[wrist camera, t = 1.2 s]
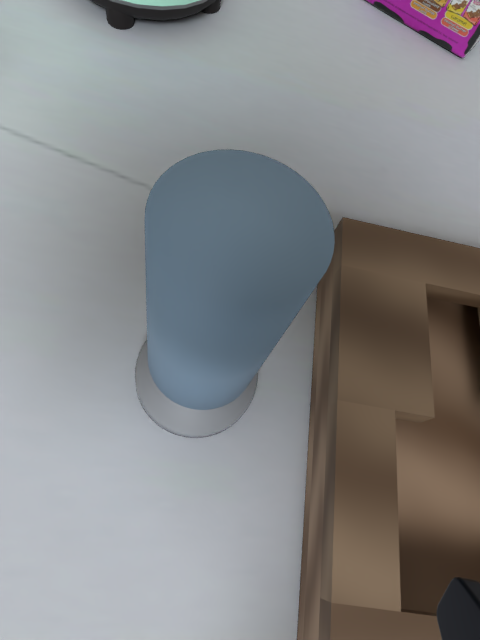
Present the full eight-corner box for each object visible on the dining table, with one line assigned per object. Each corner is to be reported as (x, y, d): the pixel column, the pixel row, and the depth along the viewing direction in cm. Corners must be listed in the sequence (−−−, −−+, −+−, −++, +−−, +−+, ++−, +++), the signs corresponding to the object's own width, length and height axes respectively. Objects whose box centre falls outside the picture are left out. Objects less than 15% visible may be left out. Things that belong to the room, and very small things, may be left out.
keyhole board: (574, 682, 20) (662, 714, 16) (296, 650, 18) (329, 678, 15) (510, 297, 29) (559, 266, 25) (319, 255, 27) (342, 217, 24)
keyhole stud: (271, 412, 23) (398, 292, 11) (158, 456, 21) (166, 368, 9) (228, 311, 25) (297, 119, 13) (120, 343, 23) (88, 152, 11)
